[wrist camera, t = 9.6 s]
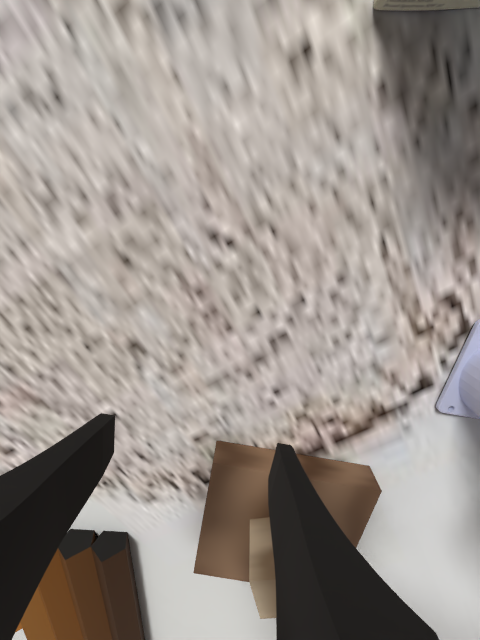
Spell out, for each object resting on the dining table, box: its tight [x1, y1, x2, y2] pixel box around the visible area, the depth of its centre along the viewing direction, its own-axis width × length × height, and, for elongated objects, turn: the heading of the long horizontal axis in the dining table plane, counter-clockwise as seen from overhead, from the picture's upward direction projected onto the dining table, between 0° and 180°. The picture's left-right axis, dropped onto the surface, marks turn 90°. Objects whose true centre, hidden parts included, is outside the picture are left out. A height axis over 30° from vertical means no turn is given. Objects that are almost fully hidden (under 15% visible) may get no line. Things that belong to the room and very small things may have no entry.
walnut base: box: [194, 441, 382, 582], centre depth 26 cm, size 14×14×2 cm
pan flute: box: [15, 529, 145, 640], centre depth 33 cm, size 25×3×25 cm
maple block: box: [249, 517, 276, 619], centre depth 23 cm, size 4×4×4 cm
